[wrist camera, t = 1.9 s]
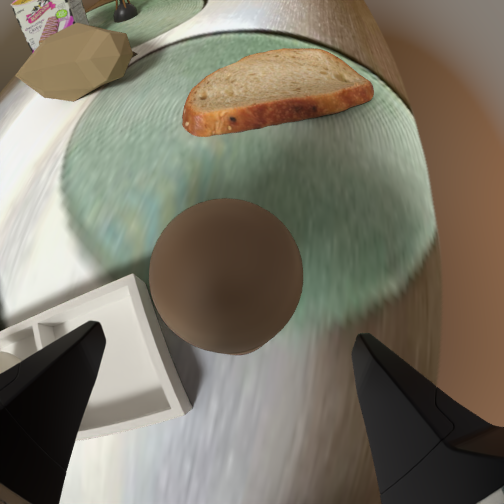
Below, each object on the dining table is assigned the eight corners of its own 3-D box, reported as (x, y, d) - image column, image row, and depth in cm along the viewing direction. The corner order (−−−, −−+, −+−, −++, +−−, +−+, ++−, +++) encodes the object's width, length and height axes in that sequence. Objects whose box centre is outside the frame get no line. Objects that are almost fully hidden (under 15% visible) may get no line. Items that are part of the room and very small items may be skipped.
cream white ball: (61, 417, 15) (14, 425, 10) (19, 424, 14) (-25, 429, 9) (40, 347, 17) (-8, 338, 12) (2, 361, 16) (-43, 354, 11)
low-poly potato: (39, 105, 28) (10, 122, 20) (40, 35, 22) (10, 31, 13) (136, 90, 34) (135, 100, 25) (141, 20, 27) (143, 5, 19)
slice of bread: (167, 132, 25) (159, 104, 22) (238, 47, 31) (237, 24, 28) (356, 187, 23) (371, 161, 20) (372, 82, 29) (380, 59, 26)
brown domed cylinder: (287, 336, 18) (353, 298, 7) (216, 366, 18) (159, 381, 6) (256, 270, 20) (268, 145, 8) (188, 297, 19) (109, 205, 8)
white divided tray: (192, 408, 17) (184, 415, 14) (19, 444, 14) (1, 447, 12) (145, 283, 20) (133, 273, 17) (-8, 347, 17) (-26, 343, 14)
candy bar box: (37, 67, 33) (8, 4, 17) (49, 53, 35) (23, -6, 19) (85, 49, 33) (59, -24, 18) (95, 36, 35) (73, -32, 19)
